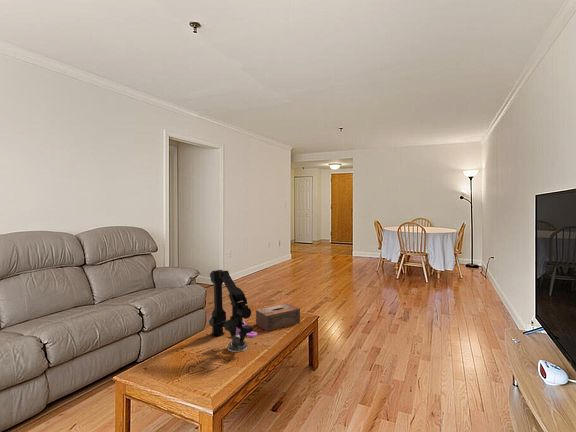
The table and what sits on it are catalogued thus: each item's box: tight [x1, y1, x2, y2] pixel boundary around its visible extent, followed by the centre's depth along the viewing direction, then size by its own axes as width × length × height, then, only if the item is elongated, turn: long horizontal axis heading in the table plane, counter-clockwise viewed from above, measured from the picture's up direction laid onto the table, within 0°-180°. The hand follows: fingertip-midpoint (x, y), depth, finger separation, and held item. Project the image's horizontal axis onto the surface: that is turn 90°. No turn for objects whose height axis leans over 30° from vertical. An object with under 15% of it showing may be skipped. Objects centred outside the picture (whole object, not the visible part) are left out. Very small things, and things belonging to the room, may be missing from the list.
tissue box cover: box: [255, 303, 301, 332], centre depth 223 cm, size 26×14×10 cm, turn 124°
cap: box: [231, 334, 243, 346], centre depth 185 cm, size 6×6×4 cm
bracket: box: [236, 320, 258, 338], centre depth 204 cm, size 13×6×7 cm, turn 65°
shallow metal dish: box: [227, 340, 249, 353], centre depth 185 cm, size 11×11×2 cm
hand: (237, 341), depth 185 cm, fingers closed on cap, 6 cm apart
